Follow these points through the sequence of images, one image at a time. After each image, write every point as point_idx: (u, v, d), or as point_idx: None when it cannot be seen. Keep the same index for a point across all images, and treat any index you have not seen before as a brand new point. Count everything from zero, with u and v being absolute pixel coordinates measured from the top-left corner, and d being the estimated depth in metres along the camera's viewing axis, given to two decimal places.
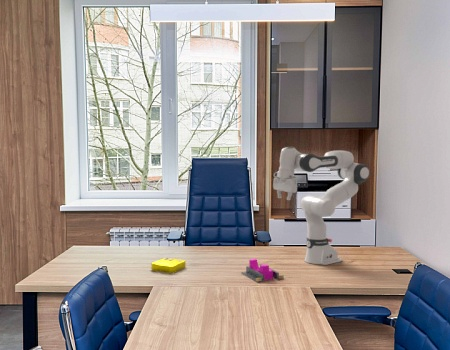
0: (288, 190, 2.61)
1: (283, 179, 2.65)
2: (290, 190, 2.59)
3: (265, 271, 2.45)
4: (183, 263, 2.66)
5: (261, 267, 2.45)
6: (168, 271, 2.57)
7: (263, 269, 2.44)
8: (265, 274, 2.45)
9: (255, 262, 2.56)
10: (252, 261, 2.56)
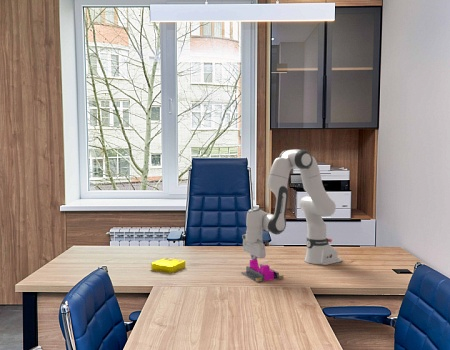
0: (257, 255, 2.52)
1: (251, 243, 2.56)
2: (258, 256, 2.50)
3: (266, 272, 2.44)
4: (183, 263, 2.66)
5: (262, 267, 2.44)
6: (167, 271, 2.57)
7: (264, 270, 2.43)
8: (266, 275, 2.44)
9: (255, 262, 2.55)
10: (252, 261, 2.54)
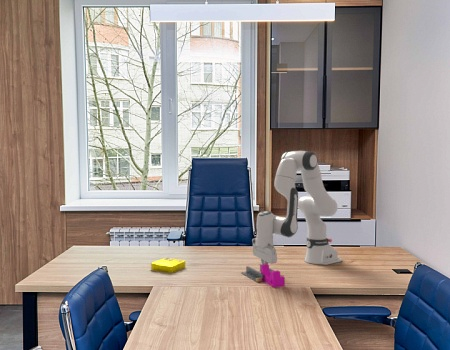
0: (268, 260, 2.41)
1: (262, 247, 2.45)
2: (269, 261, 2.39)
3: (276, 278, 2.32)
4: (183, 263, 2.66)
5: (272, 273, 2.33)
6: (167, 271, 2.57)
7: (274, 275, 2.32)
8: (276, 281, 2.33)
9: (267, 268, 2.44)
10: (263, 266, 2.44)
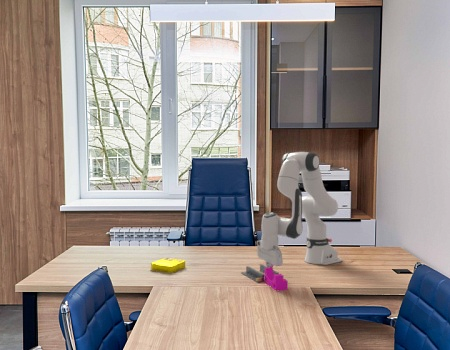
0: (273, 263, 2.37)
1: (267, 250, 2.40)
2: (275, 263, 2.35)
3: (279, 281, 2.27)
4: (183, 263, 2.66)
5: (274, 277, 2.28)
6: (167, 271, 2.57)
7: (276, 279, 2.27)
8: (278, 284, 2.27)
9: (271, 271, 2.39)
10: (267, 269, 2.39)
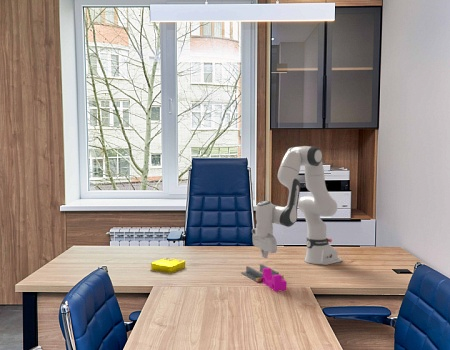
0: (268, 250, 2.42)
1: (261, 237, 2.46)
2: (270, 250, 2.40)
3: (278, 282, 2.27)
4: (183, 263, 2.66)
5: (273, 277, 2.27)
6: (167, 271, 2.57)
7: (275, 279, 2.26)
8: (277, 285, 2.27)
9: (269, 271, 2.39)
10: (265, 270, 2.38)
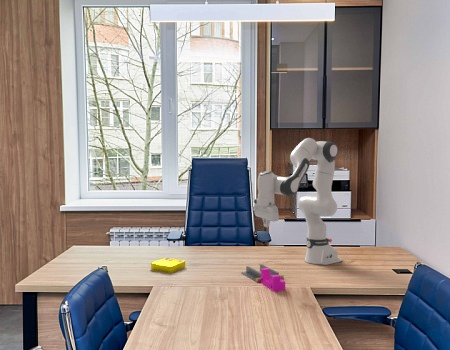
0: (269, 219, 2.46)
1: (263, 207, 2.50)
2: (271, 219, 2.44)
3: (277, 282, 2.26)
4: (183, 263, 2.65)
5: (272, 278, 2.26)
6: (167, 271, 2.57)
7: (274, 280, 2.26)
8: (276, 285, 2.26)
9: (267, 272, 2.38)
10: (264, 270, 2.38)
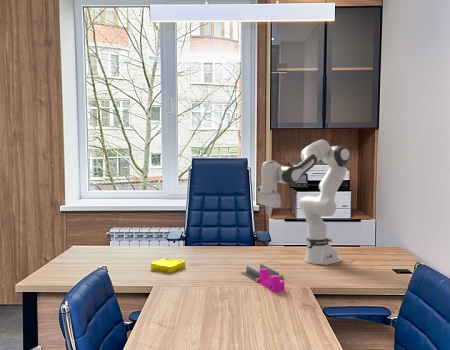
0: (272, 205, 2.57)
1: (266, 194, 2.61)
2: (274, 205, 2.55)
3: (276, 282, 2.26)
4: (183, 263, 2.65)
5: (271, 278, 2.26)
6: (167, 271, 2.57)
7: (273, 280, 2.25)
8: (276, 286, 2.26)
9: (266, 272, 2.37)
10: (262, 271, 2.37)
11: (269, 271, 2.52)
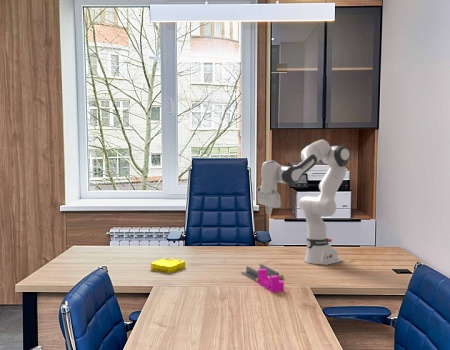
0: (272, 205, 2.57)
1: (266, 194, 2.61)
2: (274, 205, 2.55)
3: (275, 283, 2.25)
4: (182, 263, 2.65)
5: (270, 278, 2.25)
6: (167, 271, 2.57)
7: (273, 280, 2.25)
8: (275, 286, 2.25)
9: (264, 272, 2.37)
10: (261, 271, 2.36)
11: (269, 271, 2.52)
